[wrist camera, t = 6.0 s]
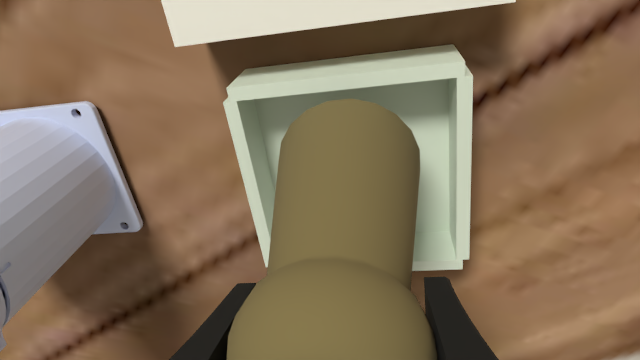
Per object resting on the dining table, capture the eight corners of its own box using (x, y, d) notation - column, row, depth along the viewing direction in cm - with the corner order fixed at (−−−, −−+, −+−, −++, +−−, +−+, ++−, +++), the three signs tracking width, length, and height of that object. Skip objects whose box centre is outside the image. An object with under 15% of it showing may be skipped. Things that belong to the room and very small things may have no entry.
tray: (279, 241, 26) (268, 275, 23) (239, 69, 21) (219, 88, 18) (459, 232, 24) (468, 269, 21) (460, 43, 19) (473, 60, 17)
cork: (452, 156, 18) (533, 432, 9) (358, 240, 21) (347, 511, 12) (335, 67, 16) (286, 290, 7) (252, 172, 19) (144, 423, 10)
